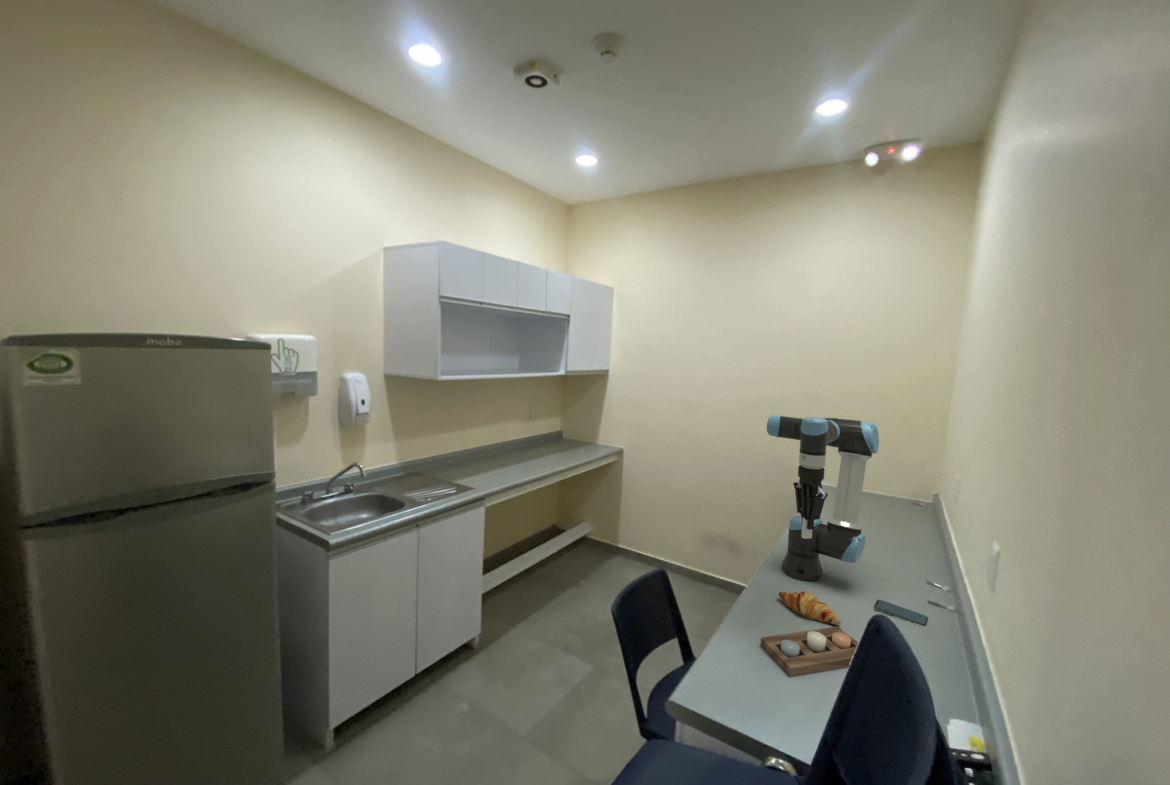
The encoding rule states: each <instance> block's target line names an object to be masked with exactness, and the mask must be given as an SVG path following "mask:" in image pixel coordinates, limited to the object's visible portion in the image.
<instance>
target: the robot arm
mask: <svg viewBox="0 0 1170 785" xmlns="http://www.w3.org/2000/svg"><path fill="white" fill-rule="evenodd" d="M766 433H767V434H768V435H769V436H770V437H776V438H782V439H790V440H796V441H799V442H800V443H799V454H798V455H799V456H798V464H799V465H798V468H797V469H798V470H797V476H798V478H799V480H798V481H794V482H793V483H792V484H793V486H794V491H795V492H794V494H795V502H796V504H795V505H796V511H797V514H800V515H795V516H793V517H791V518H790V520H789V524H788V525H789V526H788V535H787V536H788V537H787V538H788V539H787V551H786V554H785V556H784V559H783V561H782V562H781V571H782V572H783V573H784V574H785V575H787V576H789V577H790V578H792V579H795V580H799V581H804V582H817V581H820V580H823V579H822V578H823V574H824V573H823V567H822V564H821V561H820V555H821V556H826V557H830V558H833V559H835V560H838V561H840V562H846V563H850V564H855V563H856V562H859V560H860V558H861V556H862V554H863V551H864V550H865V545H866V535H865V534H864V533H862V527H861V526H860V525H859V515H860V511H861V510H860V508H861V502H862V495H863V494H862V493H863V488H864V481H865V480H864V479H865V474H866V473H865V472H866V467H867V462H868V461H869V460H871V459H872V457H873V454H876V453H878V452H879V446H880V436H879V431H878V427H877V425H876V424H874V423H873V422H869V421H863V420H856V419H855V420H854V419H846V418H845V419H843V418H835V417H823V418H822V417H814V416H813V417H812V416H811V417H808V416H807V417H803V418H801V417H800V418H799V417H793V416H792V417H791V416H783V415H771V416H769V417H768V420H767V421H766ZM827 447H833V448H837V454H839V456H840V464H839V471H838V478H837V486H836V491H835V492H836V493H835V499H834V507H833V510H832V511H833V513H832V516H831V518H829V519H828V520H827V522H826V524H825V523H823V521H822V519H821V515H822V512H823V508H824V504H825V502H826V501H825V500H826V499H827V497H828V495H829V494H828V492H824V490H823V489H822V488H823V485H822V481H823V480H824V479H825V471H826V470H825V467H826V457H827V456H826V454H827Z"/></svg>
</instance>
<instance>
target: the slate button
mask: <svg viewBox="0 0 1170 785" xmlns="http://www.w3.org/2000/svg"><path fill="white" fill-rule="evenodd" d="M799 649H800V647H799V645H798V644H797V643H796V642H794V641H791V640H783V641H782V642H781V652H782V653H783V654H784V655H785V656H787V657H788V658H790V657H796V656H799Z"/></svg>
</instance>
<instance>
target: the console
mask: <svg viewBox="0 0 1170 785" xmlns="http://www.w3.org/2000/svg"><path fill="white" fill-rule="evenodd" d="M810 631H815V632H819V633H821V634H823V635H824V636H825V637H826V646H825V652H821V653H817V652H814V651H812V650H810V649H809V648H808V647H807V634H808V632H810ZM835 632H839V633H843V634H846V635H847V636H849V637H850V638H851V646H850V648H846V649H839V648H838V647H837V646H836V645H835V644H833V643H832V634H833V633H835ZM783 640H791V641H794V642H796V643H797V644H798V645H799V647H800V649H799V656H796V657H790V658H788V657H787V656H785V655H784V654H783V653H782V652H781V642H782V641H783ZM857 645H858V641H857V640H856V639H854V637H852V636H851V635H849V634H848V633H847V632H845V631H844V629H842V628H840V626H837V625H835V626H832V627H831V626H829V627H823V628H817V629H810V630H803V631H797V632H791V633H790V632H789V633H782V634H777V635H770V636H763V637H762V636H761V637H760V647H761V648H762V649H764V651H766V652H767V654H768V655H769V657H771V658H772V659H773V660H774V661H775V662H776V663H777V664H778V665H779V666H780V668H781V669H783V670H784V671H785V673H786V674H787V675H788V676H789V677H790V678H791V677H796V676H802V675H808V674H813V673H819V672H825V671H830V670H831V671H832V670H836V669H842V668H843V669H844V668H849V667H850V666H849V663H850V661H851V658H852V656H853V654H854V651H855V649H856V647H857ZM848 666H849V667H848Z"/></svg>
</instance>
